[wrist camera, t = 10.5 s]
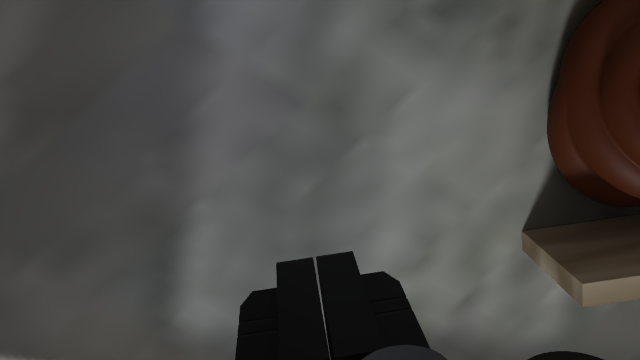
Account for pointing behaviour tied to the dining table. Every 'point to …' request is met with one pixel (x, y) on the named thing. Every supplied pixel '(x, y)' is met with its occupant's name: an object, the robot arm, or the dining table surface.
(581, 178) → the poop emoji
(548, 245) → the birch holder
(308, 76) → the dining table surface
